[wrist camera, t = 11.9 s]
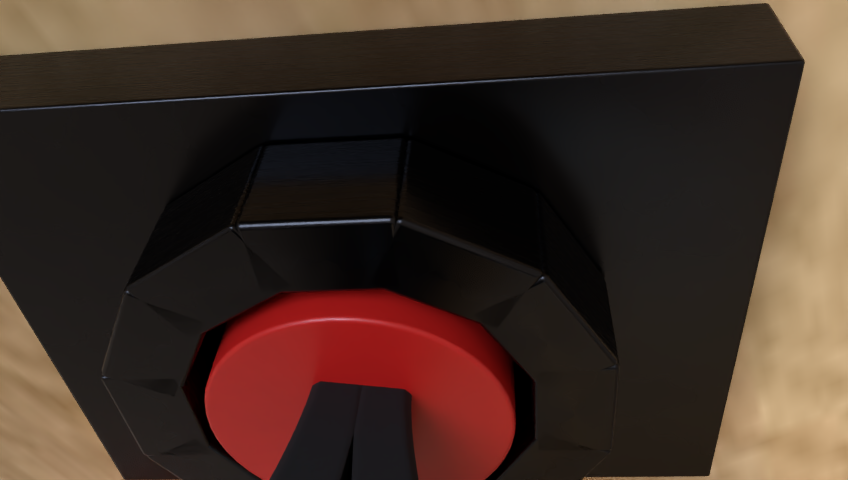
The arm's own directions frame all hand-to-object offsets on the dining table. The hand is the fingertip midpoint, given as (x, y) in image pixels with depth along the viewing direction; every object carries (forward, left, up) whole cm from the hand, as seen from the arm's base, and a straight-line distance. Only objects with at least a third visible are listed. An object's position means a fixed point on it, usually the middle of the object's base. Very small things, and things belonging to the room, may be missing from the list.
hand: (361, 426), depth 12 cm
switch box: (0, 0, -4) cm, 4 cm away
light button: (0, 0, -2) cm, 2 cm away
